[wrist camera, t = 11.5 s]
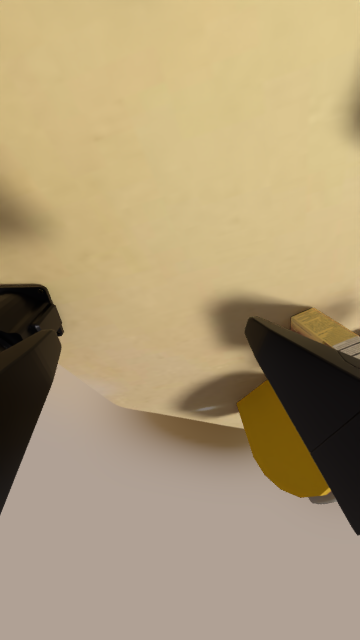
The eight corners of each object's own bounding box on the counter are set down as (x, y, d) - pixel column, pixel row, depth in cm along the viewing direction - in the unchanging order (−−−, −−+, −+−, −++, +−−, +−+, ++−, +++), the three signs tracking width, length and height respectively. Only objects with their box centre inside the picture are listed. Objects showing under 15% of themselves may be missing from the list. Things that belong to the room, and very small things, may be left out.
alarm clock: (250, 412, 46) (305, 514, 31) (231, 407, 42) (282, 520, 27) (297, 379, 40) (390, 482, 26) (280, 369, 37) (377, 483, 22)
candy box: (309, 341, 33) (412, 425, 21) (288, 350, 33) (377, 438, 21) (313, 306, 28) (453, 389, 15) (288, 316, 28) (406, 407, 16)
